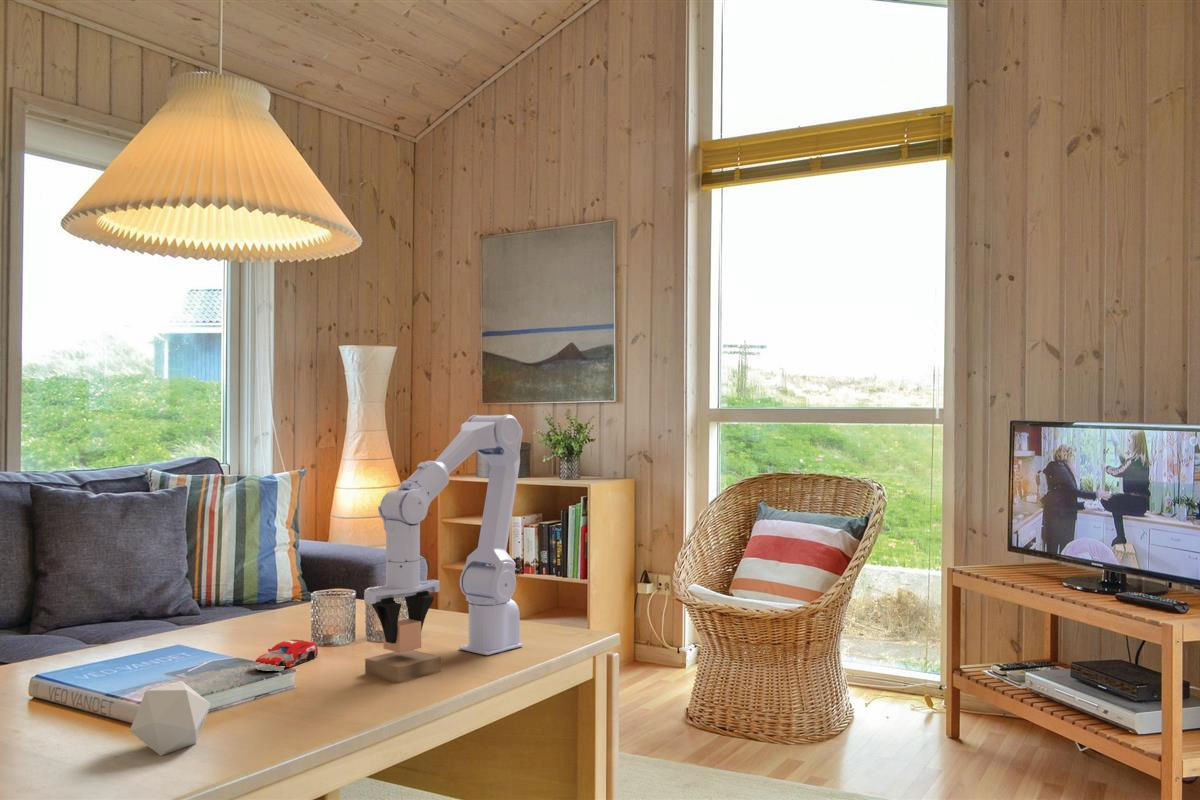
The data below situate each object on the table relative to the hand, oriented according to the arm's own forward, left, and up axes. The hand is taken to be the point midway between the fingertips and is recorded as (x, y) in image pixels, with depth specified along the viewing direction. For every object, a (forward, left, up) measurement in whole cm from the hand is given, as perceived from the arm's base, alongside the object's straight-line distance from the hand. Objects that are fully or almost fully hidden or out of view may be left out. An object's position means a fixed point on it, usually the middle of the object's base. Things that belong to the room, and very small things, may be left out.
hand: (403, 639), depth 160 cm
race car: (+10, -21, -6) cm, 24 cm away
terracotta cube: (0, 0, -2) cm, 2 cm away
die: (+43, +6, -6) cm, 43 cm away
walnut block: (0, 0, -6) cm, 6 cm away
